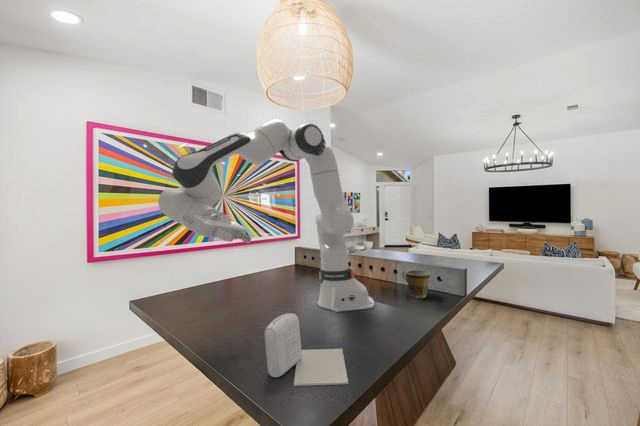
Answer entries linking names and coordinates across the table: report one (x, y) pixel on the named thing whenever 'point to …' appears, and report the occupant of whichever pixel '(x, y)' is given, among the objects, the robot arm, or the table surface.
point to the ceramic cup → (417, 282)
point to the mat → (321, 368)
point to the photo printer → (282, 344)
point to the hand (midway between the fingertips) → (241, 239)
